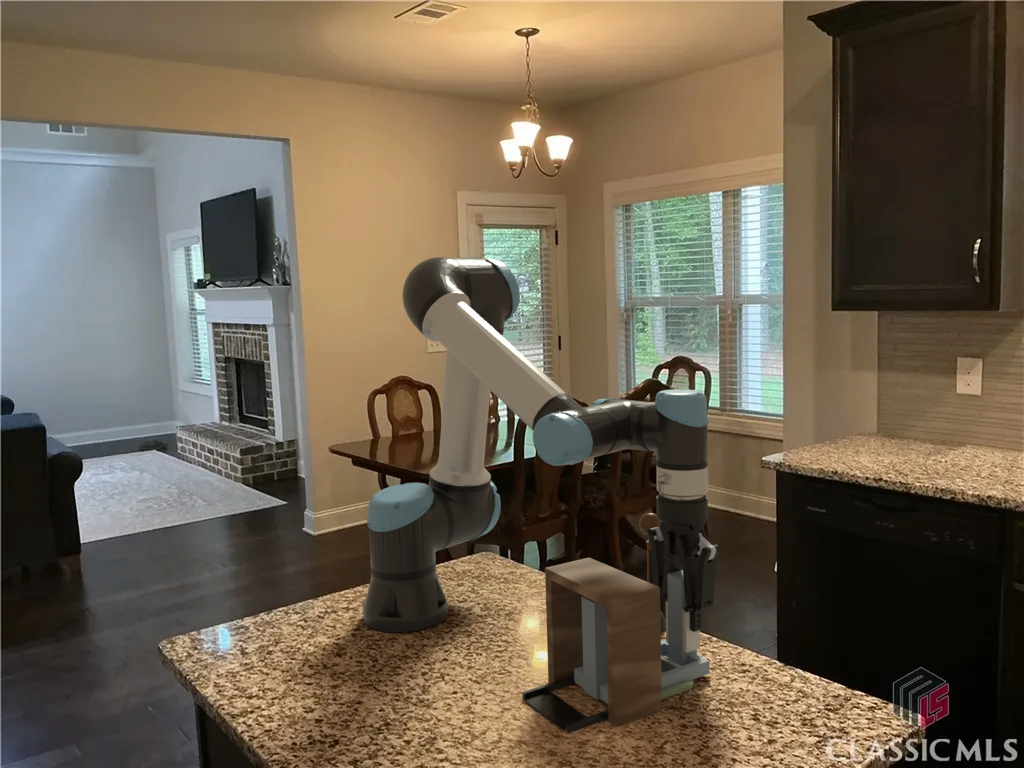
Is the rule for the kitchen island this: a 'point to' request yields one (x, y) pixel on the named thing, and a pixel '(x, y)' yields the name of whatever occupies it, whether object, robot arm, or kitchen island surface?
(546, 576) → the tunnel
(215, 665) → the kitchen island surface
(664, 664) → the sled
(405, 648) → the kitchen island surface
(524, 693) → the track
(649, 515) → the wooden tabletop sculpture
